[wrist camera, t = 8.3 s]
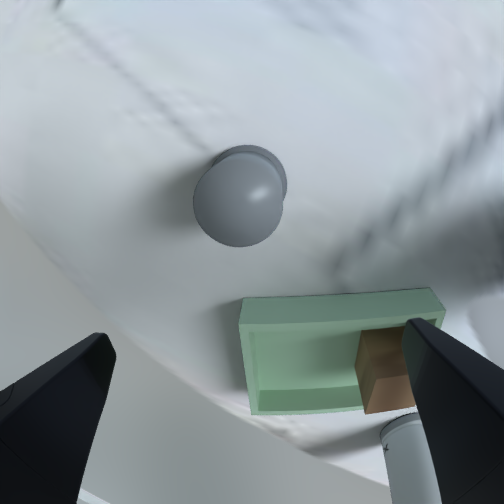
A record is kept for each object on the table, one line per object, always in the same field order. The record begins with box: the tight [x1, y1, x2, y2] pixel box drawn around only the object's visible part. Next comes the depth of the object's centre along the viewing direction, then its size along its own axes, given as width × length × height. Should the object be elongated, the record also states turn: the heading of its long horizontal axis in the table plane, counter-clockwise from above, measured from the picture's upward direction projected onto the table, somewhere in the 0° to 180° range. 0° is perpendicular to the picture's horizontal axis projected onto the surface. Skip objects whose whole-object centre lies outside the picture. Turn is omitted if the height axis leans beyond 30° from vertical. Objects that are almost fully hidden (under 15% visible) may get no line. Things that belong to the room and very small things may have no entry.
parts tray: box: [238, 288, 446, 415], centre depth 21 cm, size 14×10×3 cm
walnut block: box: [354, 326, 416, 414], centre depth 19 cm, size 4×4×5 cm
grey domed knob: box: [193, 145, 287, 247], centre depth 15 cm, size 5×5×5 cm
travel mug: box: [380, 413, 442, 504], centre depth 18 cm, size 6×7×20 cm
